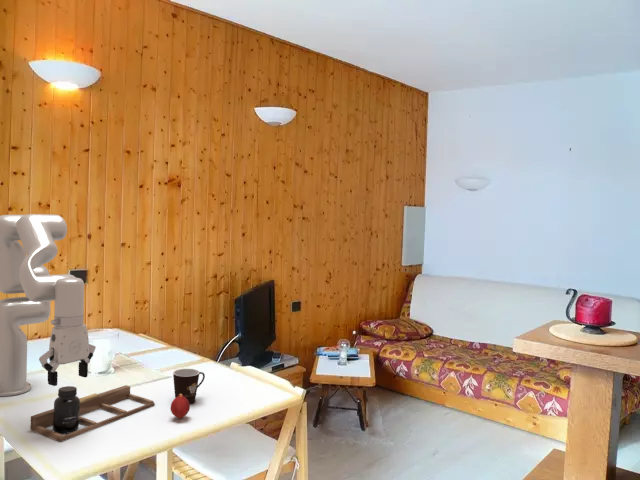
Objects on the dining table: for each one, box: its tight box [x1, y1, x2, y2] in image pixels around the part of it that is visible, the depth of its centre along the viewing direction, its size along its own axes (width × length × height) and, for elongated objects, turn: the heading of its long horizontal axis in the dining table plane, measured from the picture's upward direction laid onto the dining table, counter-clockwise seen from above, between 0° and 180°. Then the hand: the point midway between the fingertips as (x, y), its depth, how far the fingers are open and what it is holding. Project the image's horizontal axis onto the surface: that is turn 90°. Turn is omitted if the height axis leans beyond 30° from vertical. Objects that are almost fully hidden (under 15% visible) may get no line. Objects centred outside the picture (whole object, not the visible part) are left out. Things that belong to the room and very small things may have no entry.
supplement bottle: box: [52, 385, 80, 435], centre depth 157 cm, size 7×7×12 cm
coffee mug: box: [172, 368, 206, 405], centre depth 184 cm, size 12×9×10 cm
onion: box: [170, 394, 191, 420], centre depth 169 cm, size 6×6×8 cm
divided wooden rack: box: [30, 384, 156, 443], centre depth 167 cm, size 14×34×5 cm, turn 151°
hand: (68, 380), depth 156 cm, fingers open, 9 cm apart
